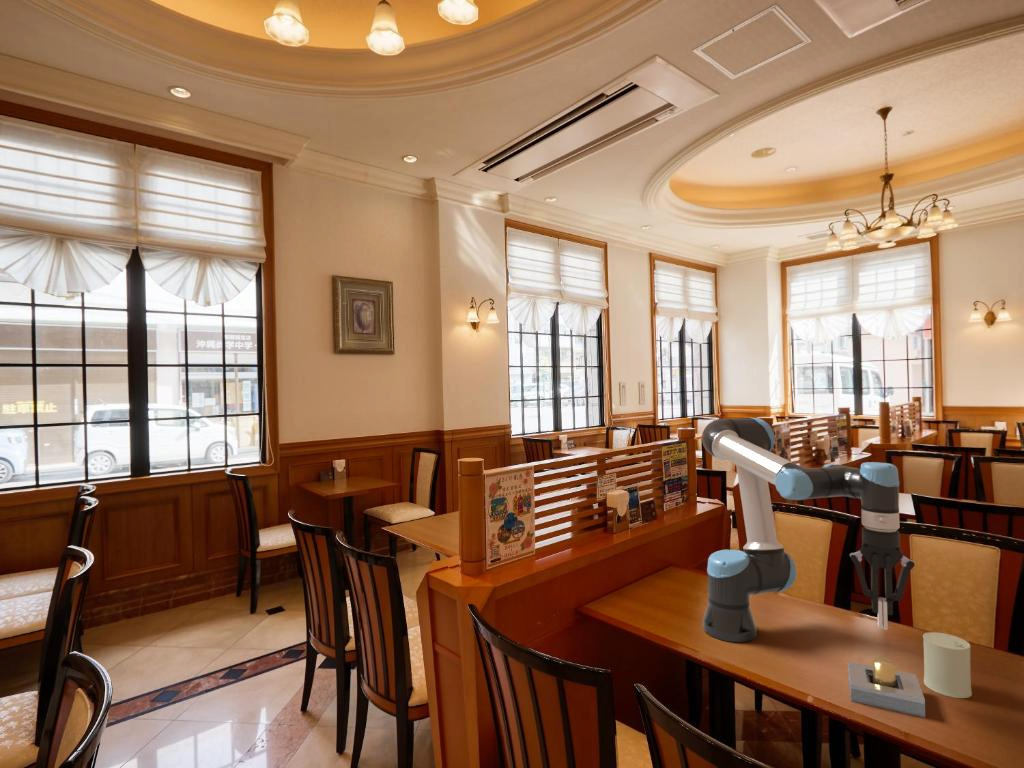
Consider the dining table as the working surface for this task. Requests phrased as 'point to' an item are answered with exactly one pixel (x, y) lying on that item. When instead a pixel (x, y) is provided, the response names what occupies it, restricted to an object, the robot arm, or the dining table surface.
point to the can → (947, 665)
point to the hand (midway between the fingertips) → (882, 626)
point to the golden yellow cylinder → (884, 672)
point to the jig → (886, 690)
